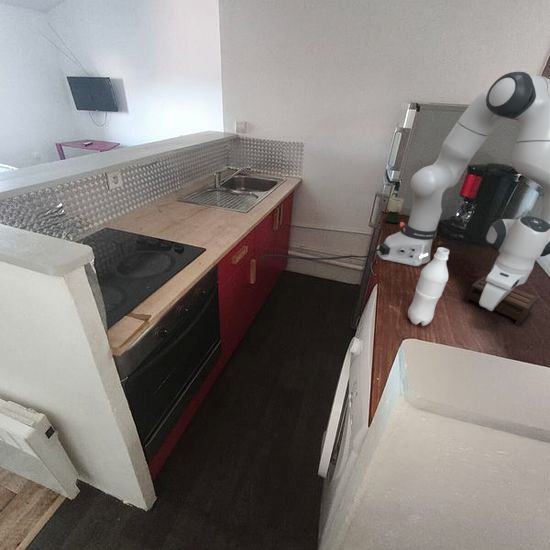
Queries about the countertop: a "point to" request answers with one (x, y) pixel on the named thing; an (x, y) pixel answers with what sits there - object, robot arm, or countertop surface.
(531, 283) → the countertop surface
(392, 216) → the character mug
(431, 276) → the water bottle
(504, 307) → the rack
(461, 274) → the countertop surface
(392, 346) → the countertop surface
